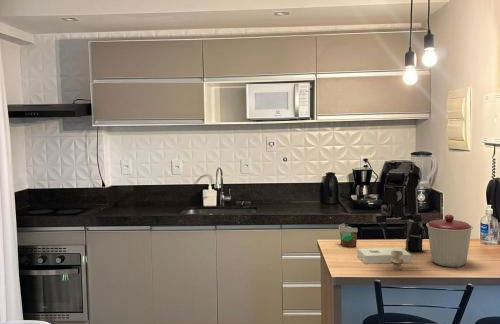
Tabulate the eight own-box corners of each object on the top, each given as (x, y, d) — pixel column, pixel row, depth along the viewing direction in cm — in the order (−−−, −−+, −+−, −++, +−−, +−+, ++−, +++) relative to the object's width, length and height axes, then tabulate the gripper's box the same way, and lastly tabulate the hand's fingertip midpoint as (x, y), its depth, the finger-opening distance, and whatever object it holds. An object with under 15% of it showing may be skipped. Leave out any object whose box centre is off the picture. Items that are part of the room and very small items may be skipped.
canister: (444, 271, 180) (444, 220, 179) (417, 259, 198) (417, 212, 196) (482, 267, 184) (483, 217, 183) (452, 256, 202) (453, 210, 201)
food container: (333, 243, 229) (333, 224, 228) (344, 242, 231) (344, 223, 230) (347, 249, 217) (347, 229, 217) (357, 248, 219) (357, 227, 219)
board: (401, 255, 206) (401, 247, 205) (411, 262, 194) (411, 254, 193) (357, 256, 205) (357, 248, 205) (365, 263, 193) (365, 255, 193)
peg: (400, 266, 188) (400, 250, 187) (404, 270, 183) (404, 253, 183) (389, 267, 188) (389, 250, 187) (393, 270, 183) (393, 253, 183)
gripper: (412, 197, 192) (411, 233, 193) (368, 198, 192) (368, 234, 193) (422, 201, 181) (422, 239, 182) (376, 202, 180) (376, 240, 181)
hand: (396, 238), depth 185 cm, fingers open, 9 cm apart
